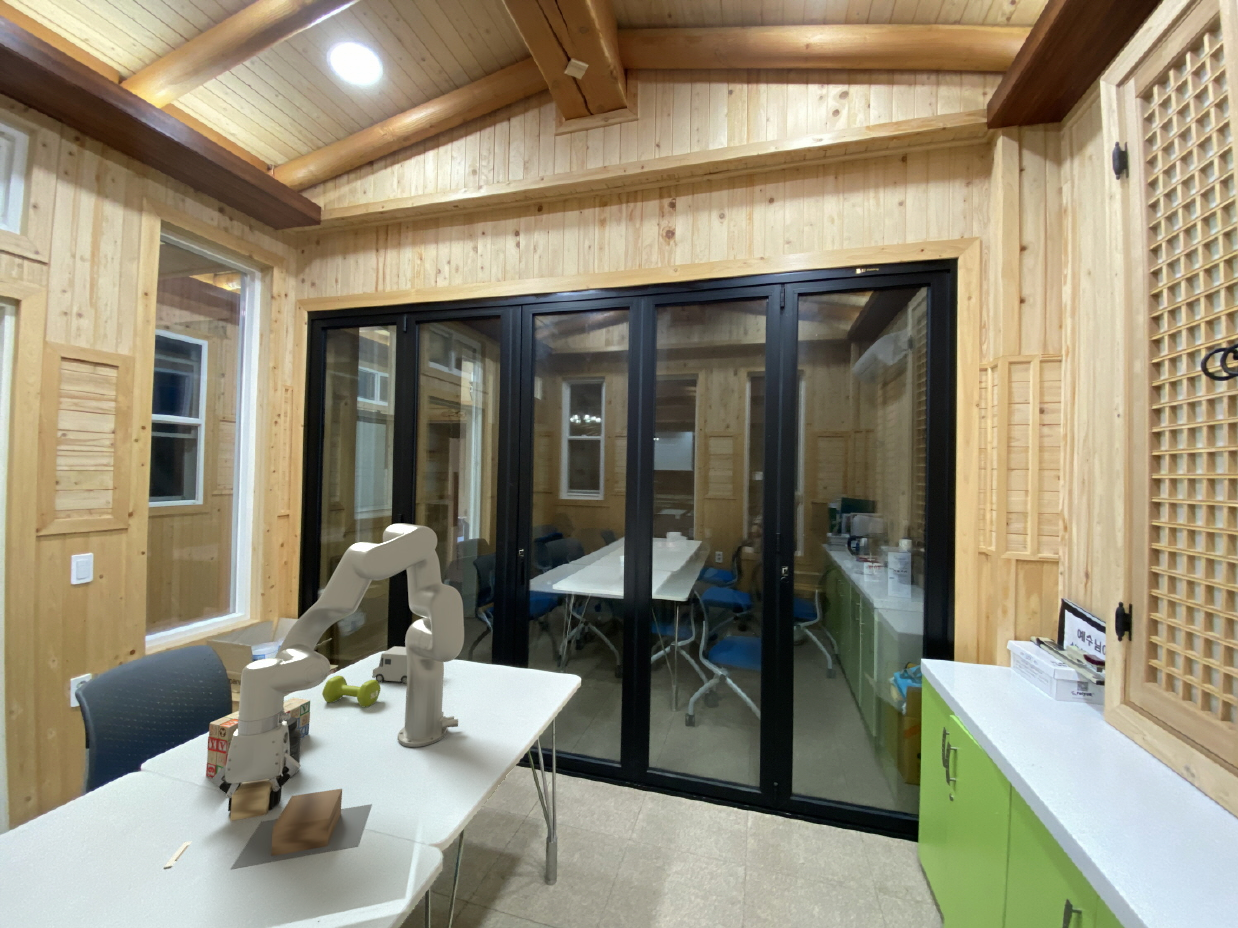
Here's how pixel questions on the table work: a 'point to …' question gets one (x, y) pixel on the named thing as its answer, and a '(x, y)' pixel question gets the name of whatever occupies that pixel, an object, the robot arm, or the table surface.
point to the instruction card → (177, 854)
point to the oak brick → (251, 799)
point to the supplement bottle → (293, 741)
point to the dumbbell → (351, 691)
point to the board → (342, 838)
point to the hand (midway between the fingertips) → (254, 809)
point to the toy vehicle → (392, 665)
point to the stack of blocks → (227, 725)
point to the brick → (306, 822)
